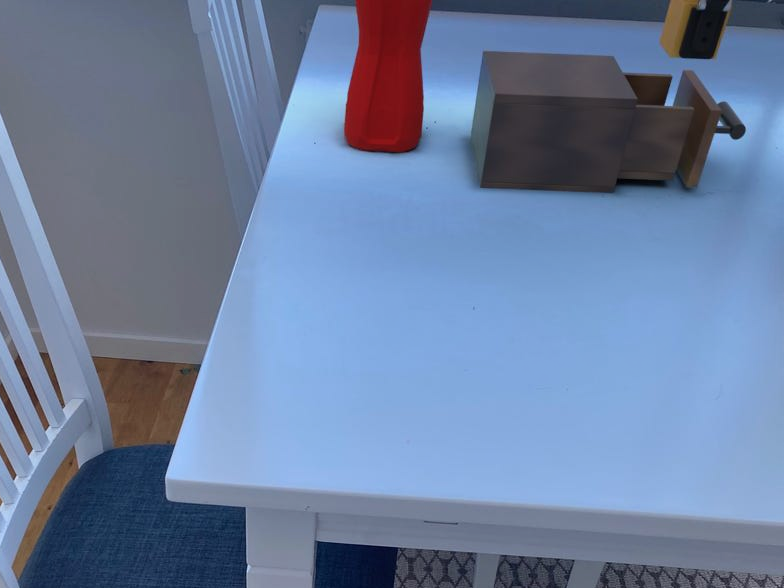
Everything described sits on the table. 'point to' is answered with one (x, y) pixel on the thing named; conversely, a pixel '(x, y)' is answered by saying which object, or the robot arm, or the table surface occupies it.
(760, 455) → the table surface
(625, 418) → the table surface
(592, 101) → the cabinet
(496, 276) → the table surface
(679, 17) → the block
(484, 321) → the table surface
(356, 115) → the red bottle
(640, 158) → the drawer
